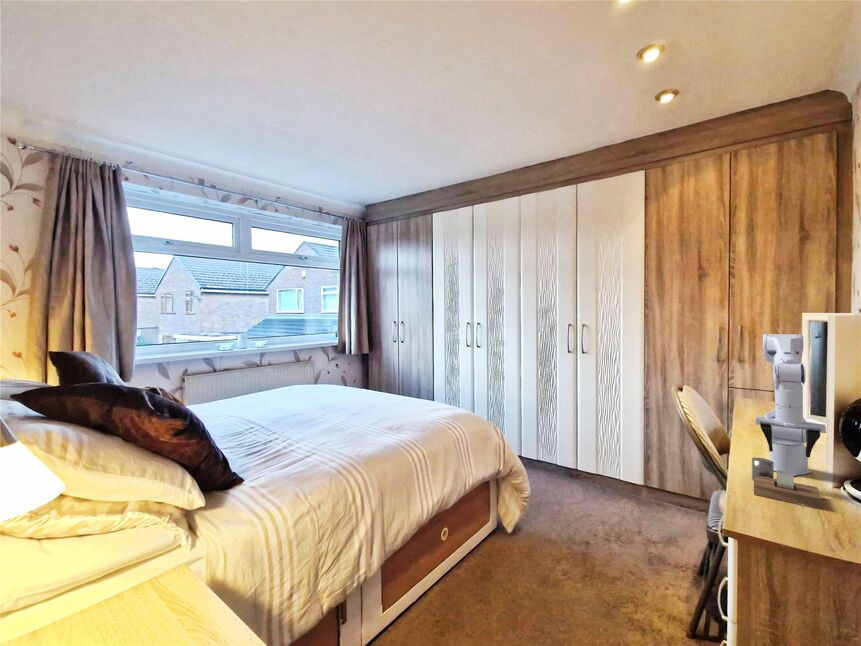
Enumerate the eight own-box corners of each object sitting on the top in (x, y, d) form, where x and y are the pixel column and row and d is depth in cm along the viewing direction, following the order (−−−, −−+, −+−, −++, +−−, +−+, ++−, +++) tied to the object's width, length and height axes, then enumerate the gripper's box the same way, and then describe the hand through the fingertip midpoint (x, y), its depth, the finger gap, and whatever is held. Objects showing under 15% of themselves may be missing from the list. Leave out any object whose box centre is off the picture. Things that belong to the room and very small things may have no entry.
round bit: (752, 476, 117) (752, 456, 117) (773, 480, 114) (773, 460, 114) (752, 481, 114) (752, 461, 113) (773, 485, 110) (773, 464, 110)
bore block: (753, 483, 112) (753, 474, 112) (816, 496, 104) (816, 487, 104) (753, 494, 105) (753, 485, 105) (821, 509, 97) (821, 499, 97)
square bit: (776, 491, 107) (776, 469, 107) (792, 494, 105) (792, 472, 105) (777, 495, 104) (777, 473, 104) (793, 498, 102) (793, 476, 102)
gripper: (755, 404, 111) (755, 451, 111) (827, 412, 102) (827, 463, 102) (755, 400, 117) (755, 445, 117) (823, 407, 107) (823, 455, 107)
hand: (788, 453), depth 110 cm, fingers open, 7 cm apart
